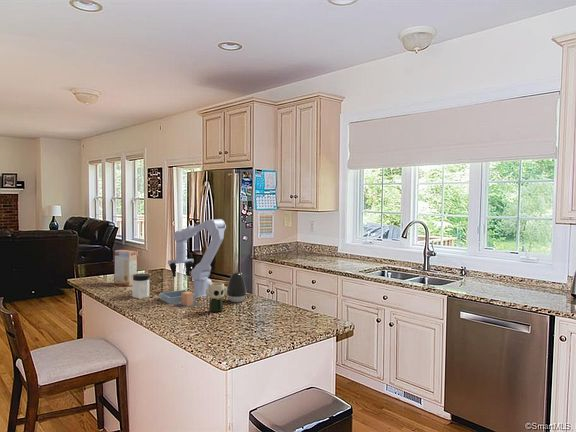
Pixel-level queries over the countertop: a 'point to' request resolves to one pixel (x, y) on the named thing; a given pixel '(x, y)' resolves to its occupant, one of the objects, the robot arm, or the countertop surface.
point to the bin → (173, 296)
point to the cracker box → (125, 266)
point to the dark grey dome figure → (236, 288)
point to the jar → (140, 285)
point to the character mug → (216, 296)
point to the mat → (187, 306)
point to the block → (187, 298)
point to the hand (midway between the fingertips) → (180, 276)
